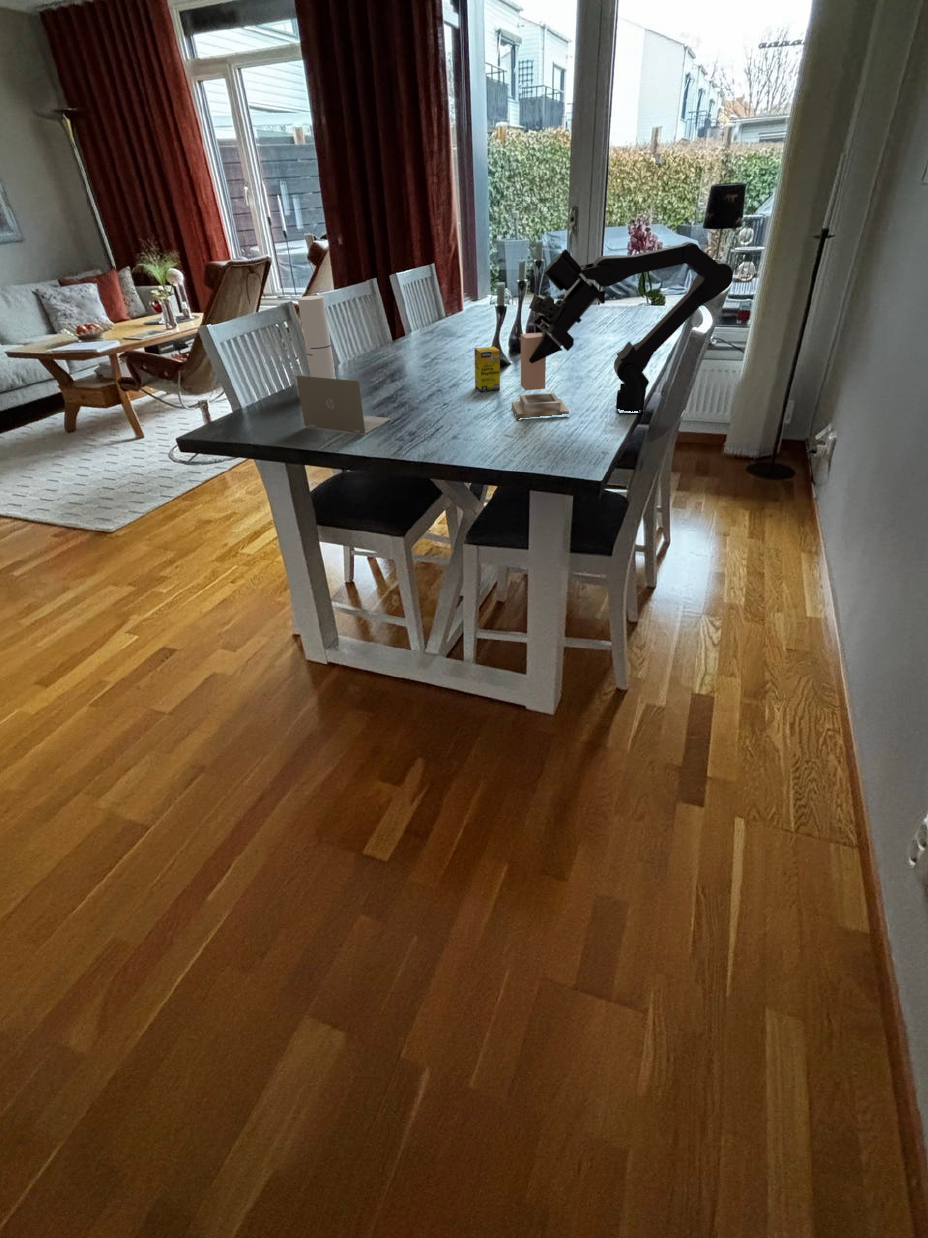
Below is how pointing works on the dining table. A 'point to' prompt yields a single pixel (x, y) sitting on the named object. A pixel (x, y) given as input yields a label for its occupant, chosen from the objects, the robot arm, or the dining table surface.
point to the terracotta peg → (532, 371)
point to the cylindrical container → (316, 336)
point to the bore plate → (538, 405)
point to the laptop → (335, 406)
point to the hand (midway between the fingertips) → (527, 359)
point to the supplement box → (487, 369)
